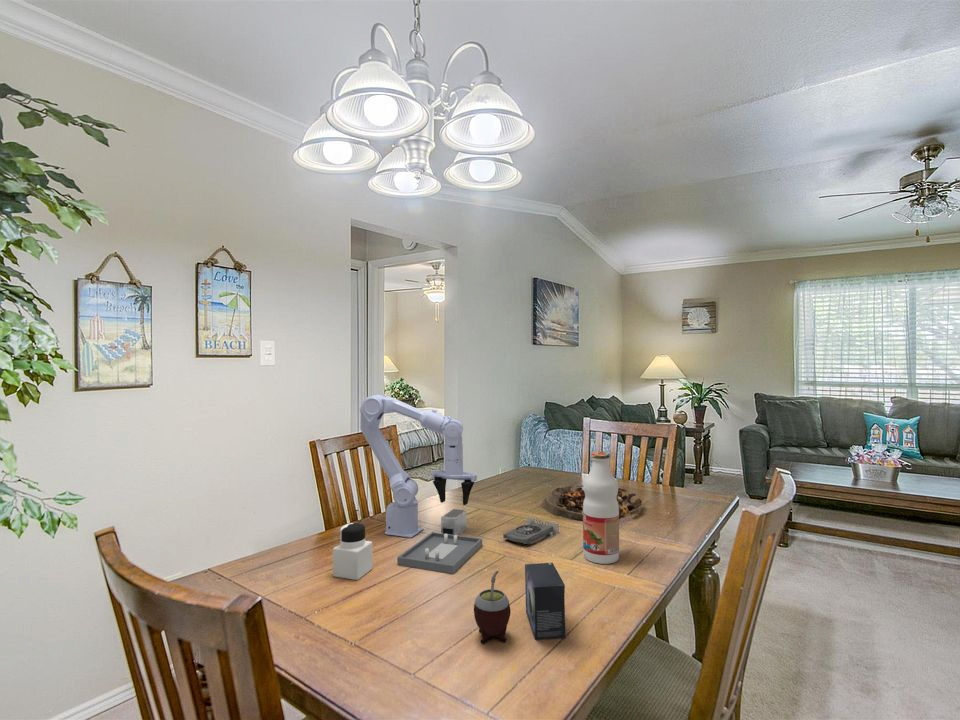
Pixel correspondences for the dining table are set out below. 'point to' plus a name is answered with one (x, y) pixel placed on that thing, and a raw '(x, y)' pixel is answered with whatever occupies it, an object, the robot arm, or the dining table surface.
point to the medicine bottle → (352, 553)
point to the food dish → (572, 503)
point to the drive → (454, 522)
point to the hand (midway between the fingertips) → (454, 503)
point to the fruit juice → (600, 512)
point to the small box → (545, 601)
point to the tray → (440, 552)
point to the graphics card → (532, 531)
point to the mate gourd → (492, 613)
